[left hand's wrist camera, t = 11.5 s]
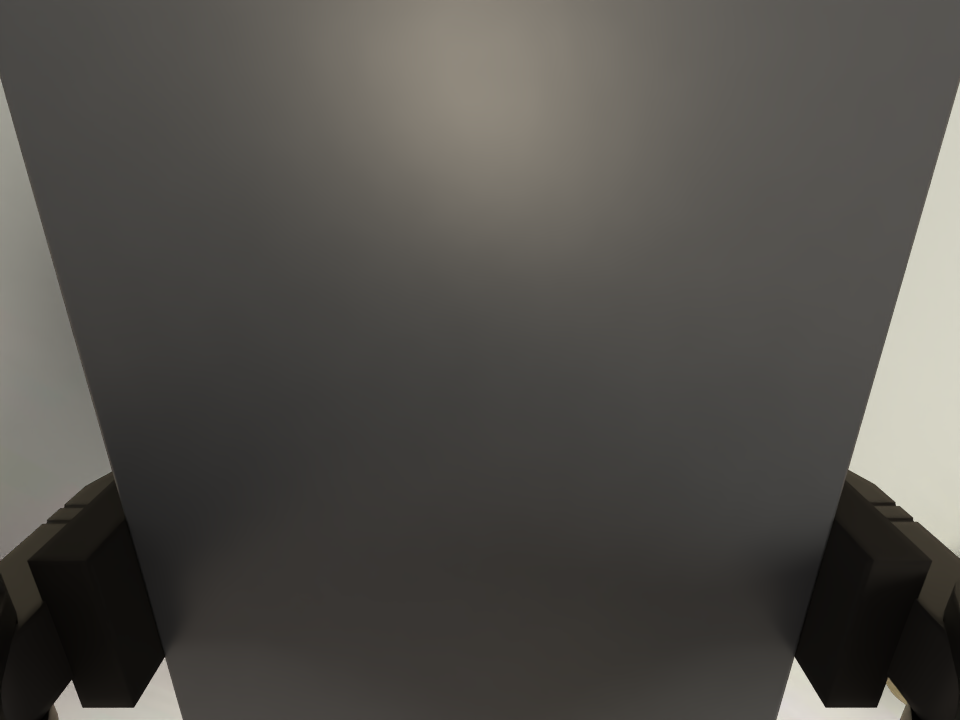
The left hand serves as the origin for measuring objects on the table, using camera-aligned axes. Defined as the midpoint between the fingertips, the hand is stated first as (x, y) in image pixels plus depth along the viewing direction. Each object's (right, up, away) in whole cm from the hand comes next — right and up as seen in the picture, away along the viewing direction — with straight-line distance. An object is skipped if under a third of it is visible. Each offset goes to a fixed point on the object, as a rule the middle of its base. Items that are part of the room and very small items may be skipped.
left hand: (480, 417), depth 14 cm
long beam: (0, +30, -11) cm, 32 cm away
